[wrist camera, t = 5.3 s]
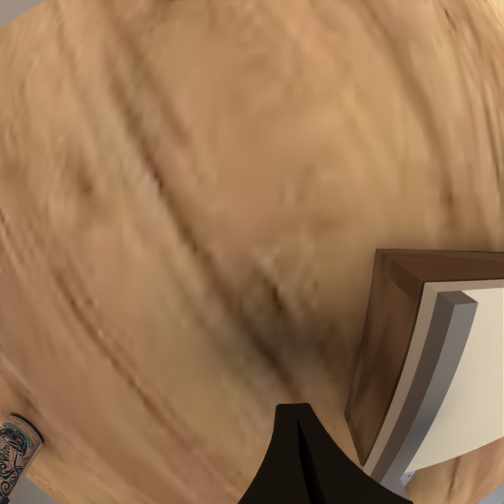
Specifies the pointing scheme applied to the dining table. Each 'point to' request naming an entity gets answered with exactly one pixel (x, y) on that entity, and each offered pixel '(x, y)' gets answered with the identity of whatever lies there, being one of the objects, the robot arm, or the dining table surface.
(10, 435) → the beer can
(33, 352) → the dining table surface
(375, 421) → the walnut box
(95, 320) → the dining table surface
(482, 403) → the lid
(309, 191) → the dining table surface
